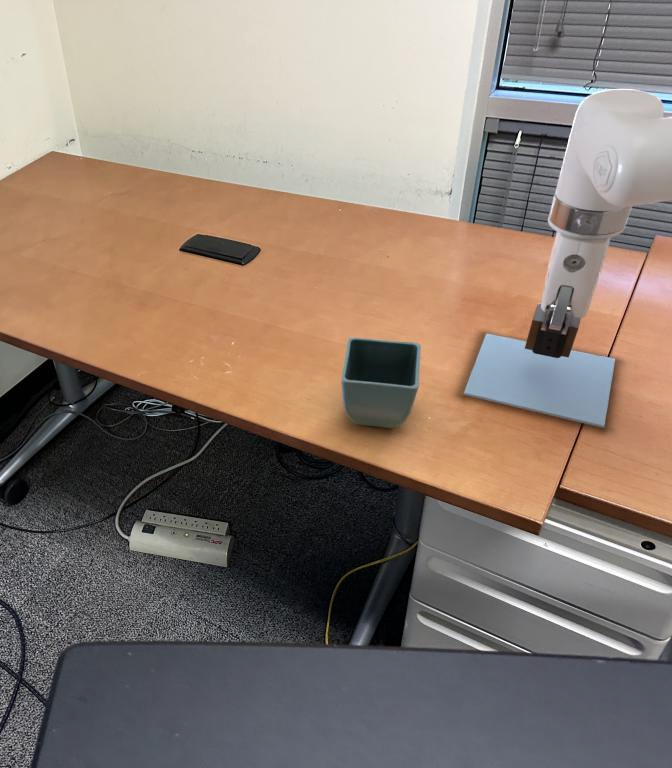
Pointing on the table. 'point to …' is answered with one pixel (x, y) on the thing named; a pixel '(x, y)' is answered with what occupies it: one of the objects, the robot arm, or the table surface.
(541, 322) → the walnut block
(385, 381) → the flower pot
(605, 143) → the robot arm
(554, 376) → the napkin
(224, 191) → the table surface
